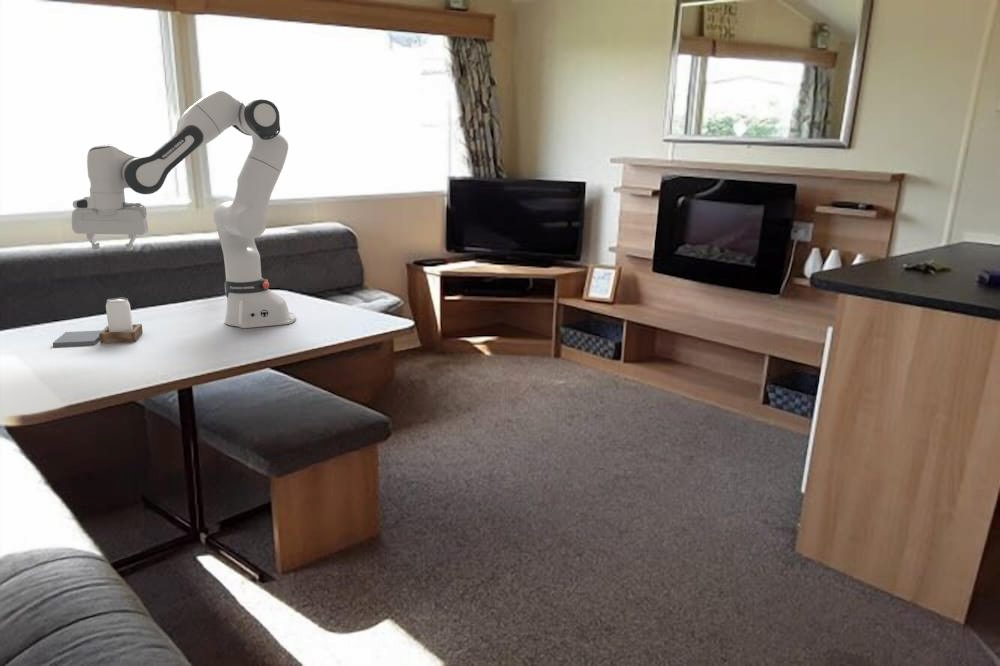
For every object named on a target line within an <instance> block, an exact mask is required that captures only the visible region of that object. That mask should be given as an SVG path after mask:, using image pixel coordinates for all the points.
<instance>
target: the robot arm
mask: <svg viewBox="0 0 1000 666" xmlns="http://www.w3.org/2000/svg"><path fill="white" fill-rule="evenodd" d="M280 120H281V119H280V112H279V109H278V107H277V106H276V104H275V103H274V102H272V101H271V100H269V99H267V98H263V97H255V98H249V99H247V100H244V101H240V100H238V99H237V98H236V97H235V96H234V95H233V94H232V93H231V92H229V91H227V90H225V89H216V90H215V91H213V92H211V93H209V94H207V95H205V96H203V97H201V98H200V99H198V101H196V102H195V103H193V104H192V105H191V106H190V107H188V108H187V109H186V110H185V111H184V112H183V113H182V114H181V115H180V117H179V119H178V120H177V123H176V130H175V133H174V134H173V136H172V137H171V138H170V139H169V140H168V141H167V142H165V143H164V144H163V145H161V147H159V148H158V149H156V151H155V152H153V153H152V154H150V155H147V156H143V157H141V156H138V155H134V154H133V153H129V152H127V151H126V150H124V149H122V148H120V147H118V146H117V145H115V144H104V145H97V146H94V147H92V148H90V149H89V150H88V152H87V159H86V163H87V164H86V165H87V177H88V179H89V183H90V188H89V196H85V197H83V198H80V199H77V200H74V201H73V202H72V206H73V208H74V210H72V214H71V229H72V231H73V232H74V233H75V234H77V235H80V234H83V235H84V234H85V235H86V239H87V240H88V241H89V243H90V244H91V249H92V250H100V249H101V247H100V242H97V241H96V240H95V236H96V235H123V236H124V235H127V236H128V239H129V242H128V243H125V250H126V251H132V250H134V242H135V241H136V239H137V236H142V235H143V236H144V235H147V233H148V231H149V226H148V220H147V208H146V206H145V205H144V204H141V203H140V202H126V199H125V197H126V196H125V189H131V190H132V191H134V192H135V193H138V194H141V195H152V194H154V193H157V192H158V191H159V190H160V189H161V188H162V187H163V186H164V183H165V182H166V179H167V176H168V175H169V173H170V172H171V171H172V170H173V169H174V168H175V167H176V166H178V165H179V164H180V163H181V162H182V161H183V160H184V159H185V158H187V157H188V156H189V155H191V153H192V152H195V151H196V150H197V149H199V148H201V147H203V146H205V145H207V144H208V143H211V142H212V141H213V140H214V139H216V138H217V137H219V136H220V135H221V134H222V133H223V132H225V130H227V129H228V128H230V127H233V128H234V129H235V130H238V132H240V133H242V134H244V135H246V136H250V137H251V139H252V145H251V149H250V150H249V153H248V155H247V157H246V159H245V161H244V164H243V166H242V168H241V170H240V172H239V175H238V177H237V187H236V191H235V196H234V200H229V201H224V202H222V203H220V204H218V205H217V206H216V207H215V209H214V210H213V216H212V217H213V222H214V224H215V227H216V231H217V234H218V235H217V236H218V238H219V242H220V246H221V250H222V254H223V260H224V273H225V280H224V292H225V293H224V294H225V297H226V312H225V318H224V324H225V325H228V326H233V327H238V328H241V329H249V328H260V327H271V326H282V325H290V324H292V323H294V322H296V314H295V313H294V312H292V311H289V307H288V305H287V302H286V300H285V299H284V298H283V297H282V296H280V295H278V294H276V293H275V292H273V291H272V290H271V289H269V288H270V283H269V280H268V279H267V278H263V277H262V265H261V264H262V263H261V255H260V252H259V250H258V248H257V244H256V241H255V239H256V238H258V237H260V236H262V234H264V232H265V230H266V228H267V219H266V218H267V213H268V208H269V203H270V199H271V196H272V193H273V191H274V188H275V186H276V184H277V181H278V179H279V177H280V174H281V172H282V171H283V167H284V165H285V162H286V158H287V155H288V151H289V143H288V140H287V139H286V138H285V137H284V136H283V135H281V134H280V133H281V122H280Z"/></svg>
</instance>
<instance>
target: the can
mask: <svg viewBox="0 0 1000 666" xmlns="http://www.w3.org/2000/svg"><path fill="white" fill-rule="evenodd" d="M128 299H129V298H127V297H113V298H109V299H106V304H105V310H106V312H105V313H106V318H107V319H106V320H107V326H108V327H109V332H128V331H132V330H133V325H132V324H133V319H132V310H131V304H130V302H129V300H128Z"/></svg>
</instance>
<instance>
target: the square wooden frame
mask: <svg viewBox="0 0 1000 666" xmlns="http://www.w3.org/2000/svg"><path fill="white" fill-rule="evenodd" d="M132 325H133V330H132V331H128V332H109V327H108V325H106V327H104V328H103V329H102V331H101V332H100V333H99V336H100V340H99V342H100V344H111V343H112V344H117V343H118V342H120V343H135V342H137V341H138V340H139V339H140V337H141V336H142V335H143V334H144V333H143V324H142V323H135V324H134V323H132ZM142 333H143V334H142Z"/></svg>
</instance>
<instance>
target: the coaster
mask: <svg viewBox="0 0 1000 666" xmlns="http://www.w3.org/2000/svg"><path fill="white" fill-rule="evenodd" d="M102 330H103V329H102ZM102 330H101V329H100V330H81V331H65V332H64V333H63V334H62V335H61V336H59V337H58V338H57V339H55V340H54V341H53V342H52V347H53V348H56V347H57V348H59V347H76V346H95V345H97V344H98V343H99V342H100V336H99V333H100V332H101V331H102Z"/></svg>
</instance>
